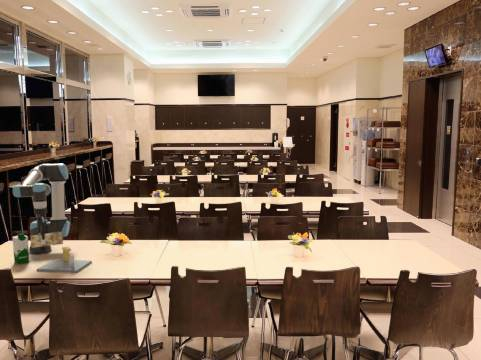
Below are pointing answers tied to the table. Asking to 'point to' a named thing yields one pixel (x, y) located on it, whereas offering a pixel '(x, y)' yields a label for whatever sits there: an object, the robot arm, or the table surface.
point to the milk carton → (21, 249)
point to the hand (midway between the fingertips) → (42, 243)
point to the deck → (65, 263)
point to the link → (47, 239)
